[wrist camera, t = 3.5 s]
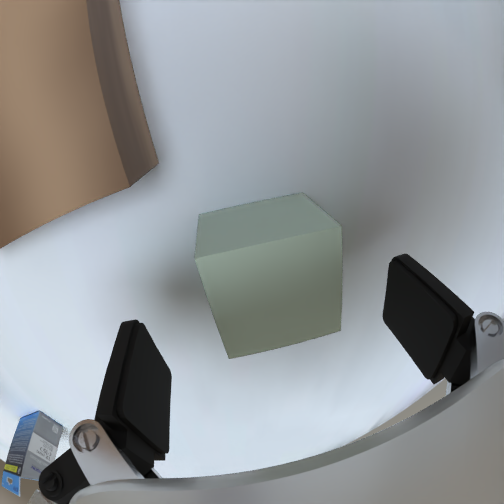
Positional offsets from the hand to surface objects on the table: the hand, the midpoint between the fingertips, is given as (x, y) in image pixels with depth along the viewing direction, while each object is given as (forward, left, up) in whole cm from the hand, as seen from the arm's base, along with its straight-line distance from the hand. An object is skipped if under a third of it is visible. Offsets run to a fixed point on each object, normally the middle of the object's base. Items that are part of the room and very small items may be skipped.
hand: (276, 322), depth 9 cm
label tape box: (+31, +17, -5) cm, 35 cm away
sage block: (0, 0, -5) cm, 5 cm away
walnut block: (+10, -11, -5) cm, 16 cm away
